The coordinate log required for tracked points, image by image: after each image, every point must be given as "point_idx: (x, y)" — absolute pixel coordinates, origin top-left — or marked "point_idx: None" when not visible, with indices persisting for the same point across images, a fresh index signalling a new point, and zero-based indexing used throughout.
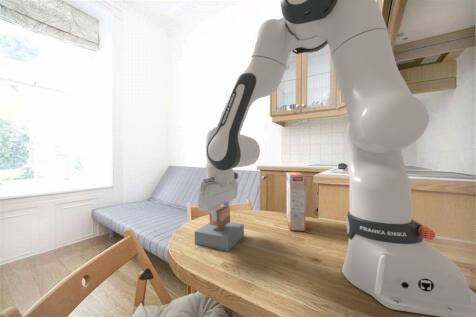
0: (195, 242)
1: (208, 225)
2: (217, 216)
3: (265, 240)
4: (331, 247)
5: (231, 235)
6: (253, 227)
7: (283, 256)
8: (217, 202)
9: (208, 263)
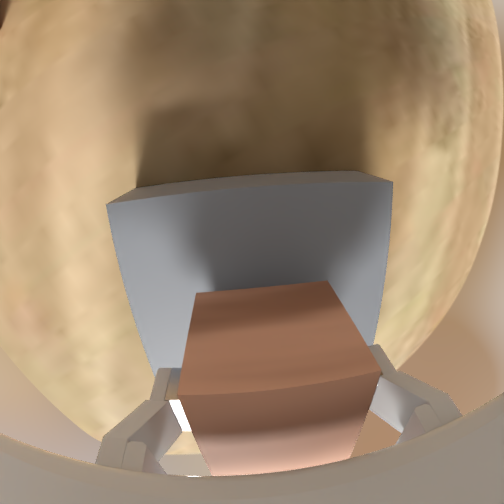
0: None
1: None
2: None
3: (136, 45)
4: None
5: (337, 181)
6: (20, 206)
7: None
8: (491, 446)
9: (454, 197)
